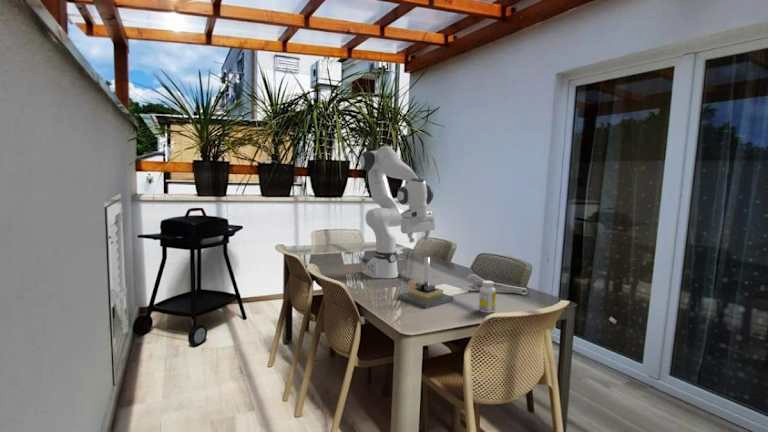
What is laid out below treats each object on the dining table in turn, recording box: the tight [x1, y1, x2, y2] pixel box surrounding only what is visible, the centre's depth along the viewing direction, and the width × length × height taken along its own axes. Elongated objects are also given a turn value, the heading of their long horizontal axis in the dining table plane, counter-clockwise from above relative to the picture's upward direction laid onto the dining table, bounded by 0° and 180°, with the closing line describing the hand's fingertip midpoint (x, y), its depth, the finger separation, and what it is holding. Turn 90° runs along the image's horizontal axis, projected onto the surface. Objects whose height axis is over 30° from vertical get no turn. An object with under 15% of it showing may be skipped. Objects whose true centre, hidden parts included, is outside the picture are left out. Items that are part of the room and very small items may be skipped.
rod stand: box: [398, 256, 455, 309], centre depth 194 cm, size 18×18×20 cm
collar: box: [407, 279, 443, 301], centre depth 196 cm, size 16×11×5 cm
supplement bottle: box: [478, 280, 497, 314], centre depth 180 cm, size 7×7×13 cm
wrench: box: [466, 273, 528, 295], centre depth 210 cm, size 8×2×30 cm
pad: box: [434, 283, 469, 297], centre depth 209 cm, size 16×16×1 cm
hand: (418, 241), depth 200 cm, fingers open, 8 cm apart
